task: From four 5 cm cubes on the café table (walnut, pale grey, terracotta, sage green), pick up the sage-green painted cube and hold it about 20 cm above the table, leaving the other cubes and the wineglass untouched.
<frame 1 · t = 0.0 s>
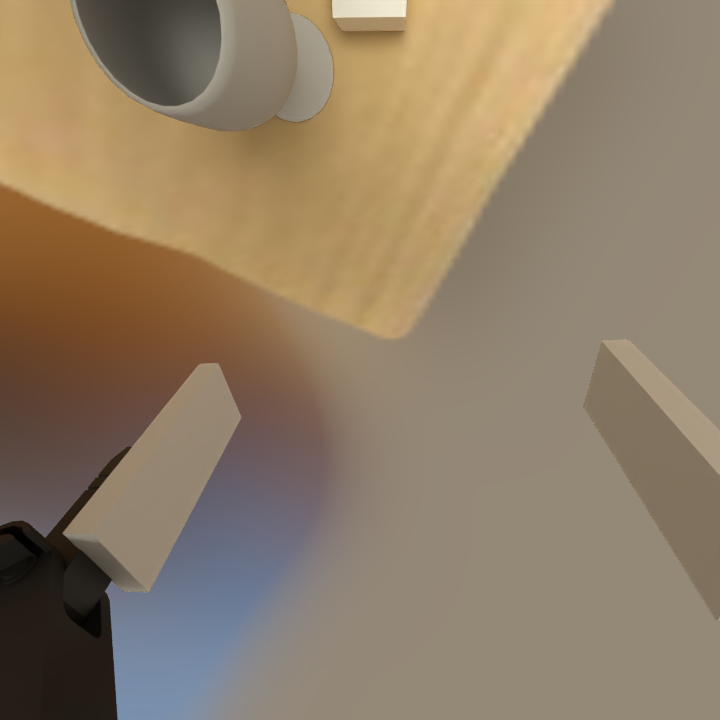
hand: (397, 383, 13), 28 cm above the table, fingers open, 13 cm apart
wineglass: (292, 71, 31), on the table
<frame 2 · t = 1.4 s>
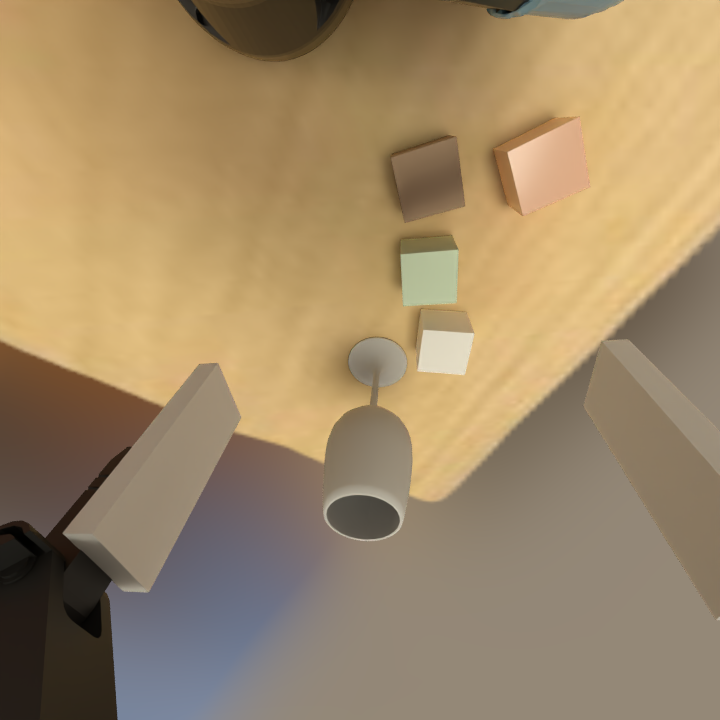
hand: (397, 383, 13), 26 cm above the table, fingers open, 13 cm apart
grey cube: (440, 330, 41), on the table
terracotta cube: (529, 164, 31), on the table
wineglass: (377, 361, 44), on the table
sage cube: (426, 262, 37), on the table
walnut cube: (425, 175, 33), on the table
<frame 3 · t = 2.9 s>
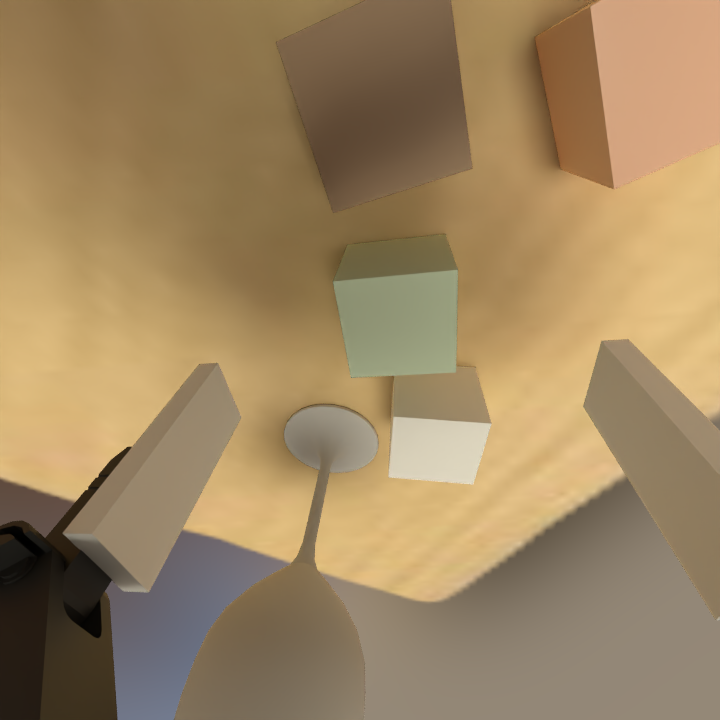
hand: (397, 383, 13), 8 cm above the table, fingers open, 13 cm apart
grey cube: (430, 394, 24), on the table
terracotta cube: (615, 72, 14), on the table
wineglass: (331, 437, 28), on the table
sage cube: (399, 284, 20), on the table
walnut cube: (385, 109, 15), on the table
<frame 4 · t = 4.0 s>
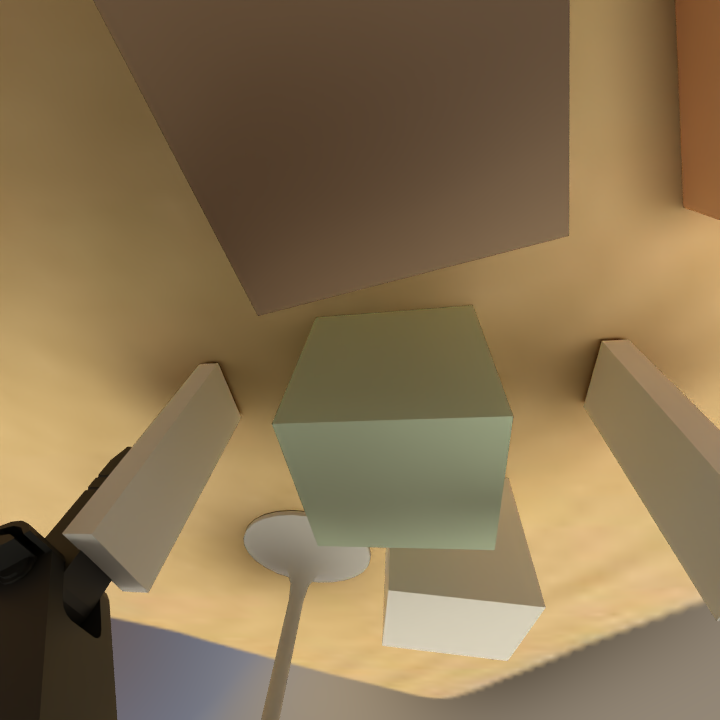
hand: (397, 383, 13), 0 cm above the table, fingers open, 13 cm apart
grey cube: (441, 505, 17), on the table
wineglass: (308, 544, 21), on the table
sage cube: (397, 372, 13), on the table
walnut cube: (372, 100, 8), on the table
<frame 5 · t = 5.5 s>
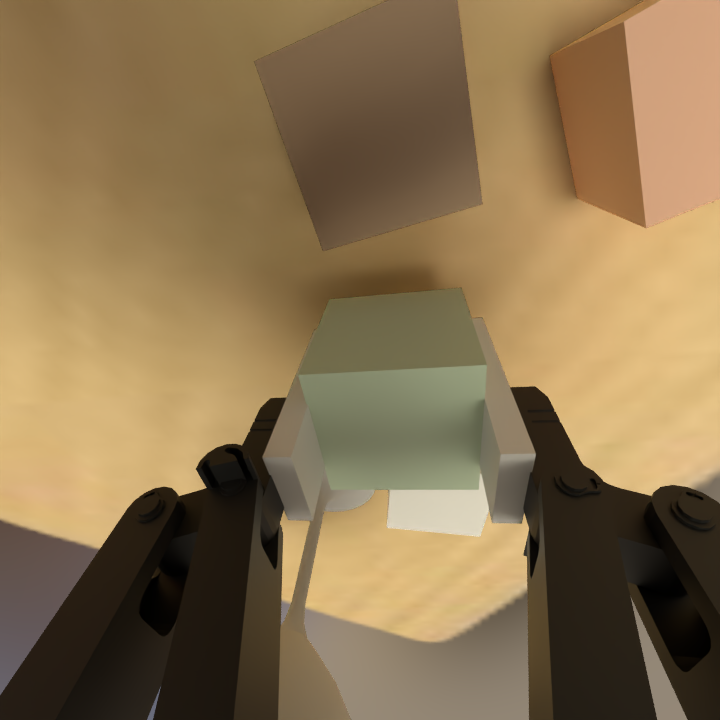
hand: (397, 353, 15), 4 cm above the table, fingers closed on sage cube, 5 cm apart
grey cube: (431, 432, 22), on the table
terracotta cube: (640, 94, 13), on the table
wineglass: (326, 475, 26), on the table
sage cube: (398, 349, 15), point 3 cm above the table, touching gripper
walnut cube: (383, 133, 14), on the table
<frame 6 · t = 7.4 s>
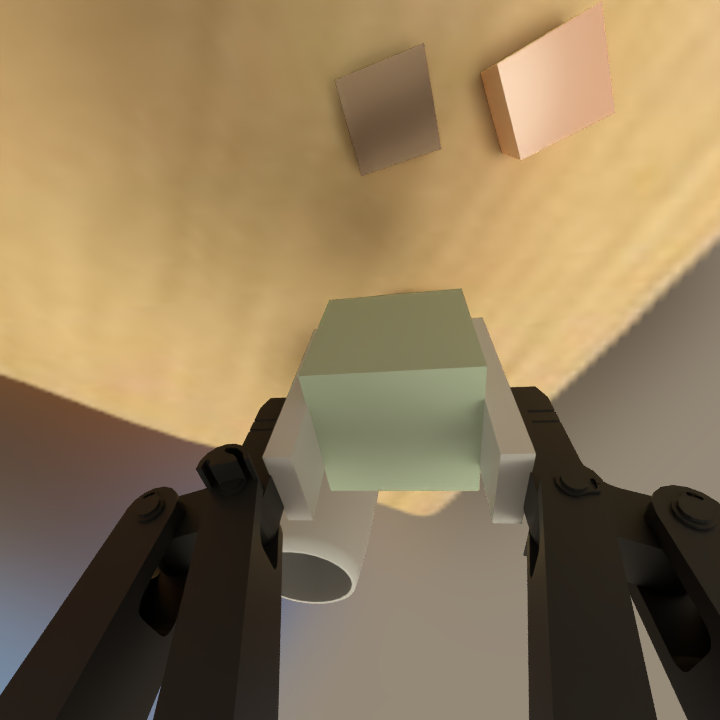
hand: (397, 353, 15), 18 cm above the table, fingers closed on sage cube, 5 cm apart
terracotta cube: (529, 93, 23), on the table
wineglass: (349, 358, 37), on the table
sage cube: (398, 350, 15), point 17 cm above the table, touching gripper
walnut cube: (391, 115, 25), on the table
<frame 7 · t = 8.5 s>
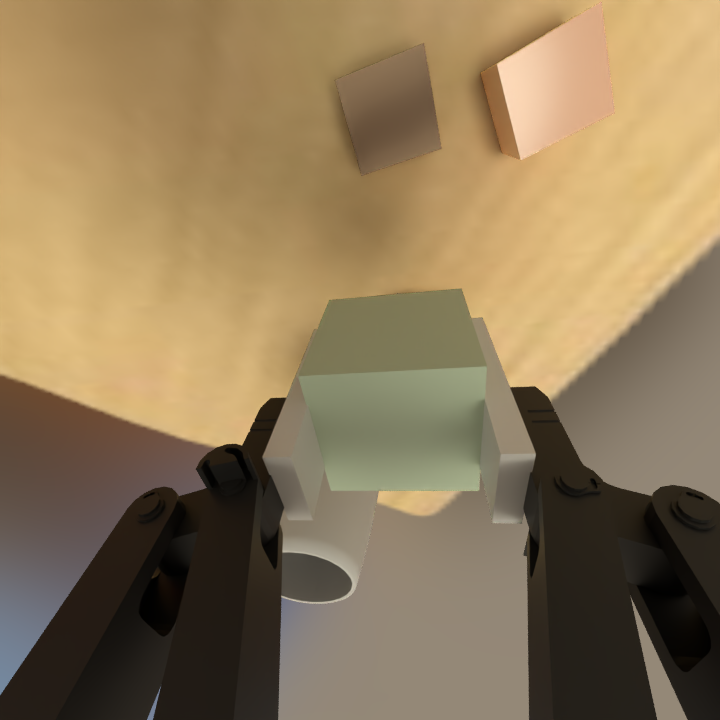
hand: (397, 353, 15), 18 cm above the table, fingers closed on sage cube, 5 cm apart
terracotta cube: (529, 93, 23), on the table
wineglass: (349, 358, 37), on the table
sage cube: (398, 350, 15), point 17 cm above the table, touching gripper
walnut cube: (391, 115, 25), on the table
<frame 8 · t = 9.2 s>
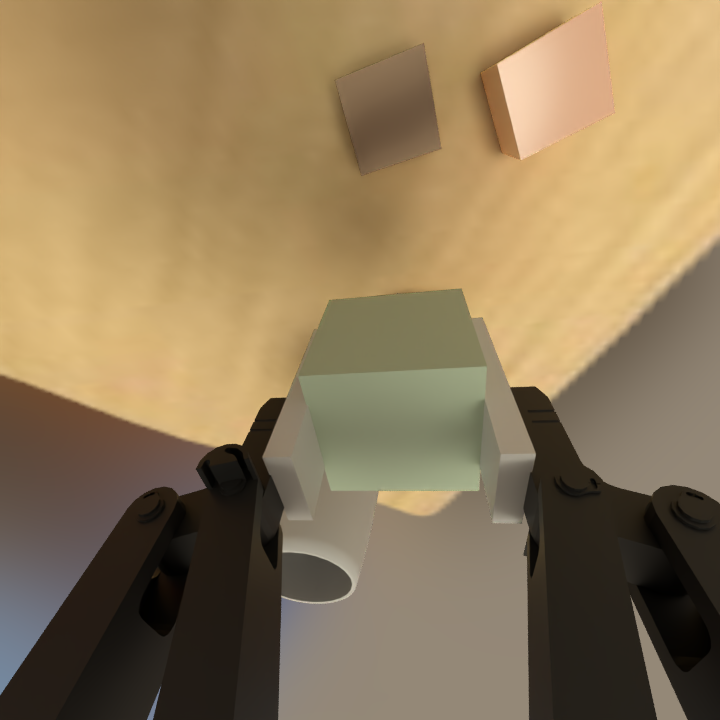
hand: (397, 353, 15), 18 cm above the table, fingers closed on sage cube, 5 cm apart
terracotta cube: (529, 93, 23), on the table
wineglass: (349, 358, 37), on the table
sage cube: (398, 350, 15), point 17 cm above the table, touching gripper
walnut cube: (391, 115, 25), on the table
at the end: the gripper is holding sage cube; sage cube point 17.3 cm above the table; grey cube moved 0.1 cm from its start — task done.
